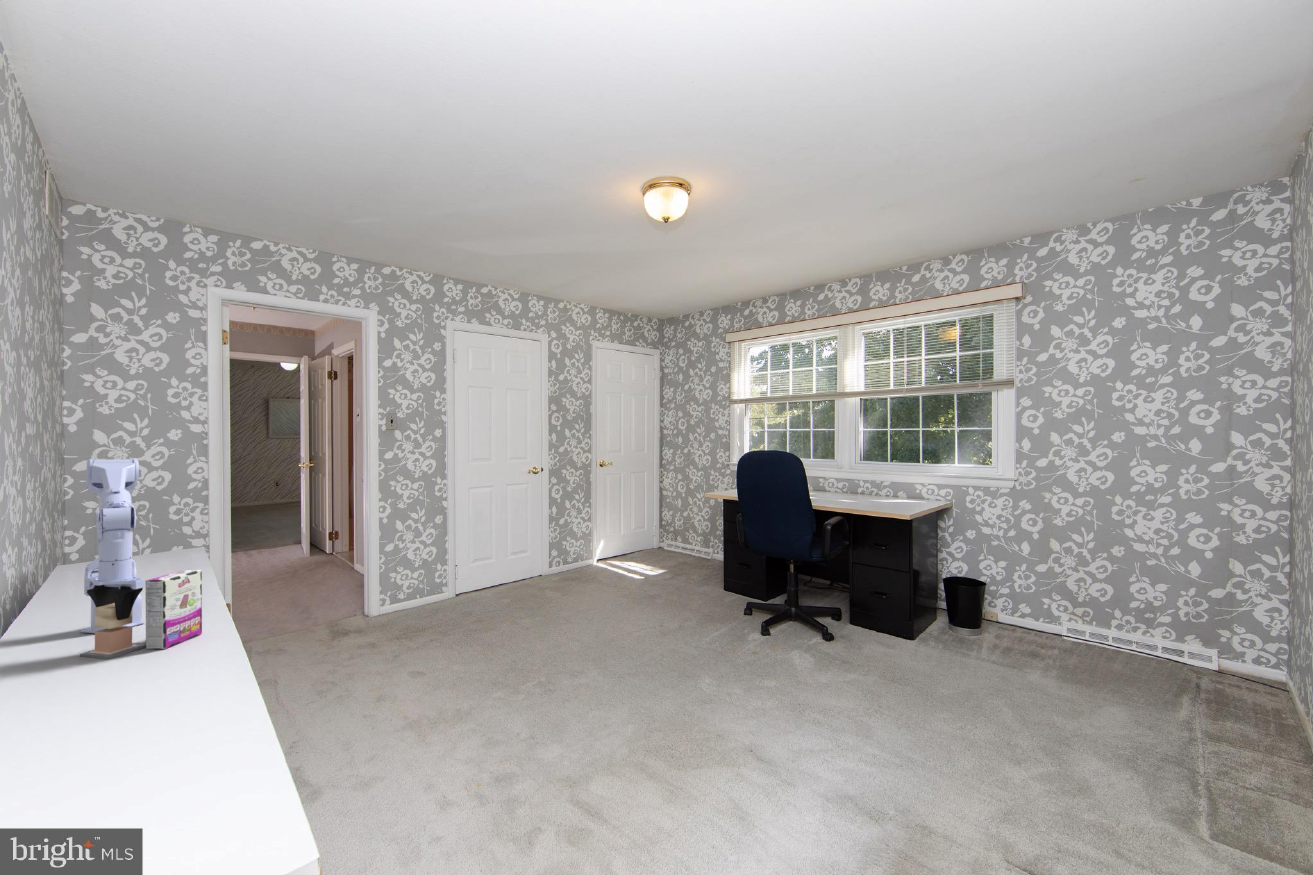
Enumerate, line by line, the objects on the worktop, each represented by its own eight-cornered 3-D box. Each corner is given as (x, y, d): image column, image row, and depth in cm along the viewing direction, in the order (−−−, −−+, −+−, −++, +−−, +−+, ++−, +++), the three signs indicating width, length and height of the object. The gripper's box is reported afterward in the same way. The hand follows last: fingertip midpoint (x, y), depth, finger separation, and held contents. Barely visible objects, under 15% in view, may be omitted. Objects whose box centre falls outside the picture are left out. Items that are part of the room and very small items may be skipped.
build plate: (119, 644, 137) (119, 641, 137) (146, 646, 136) (146, 643, 136) (79, 656, 129) (80, 653, 129) (107, 659, 128) (108, 655, 128)
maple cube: (116, 621, 135) (117, 602, 135) (132, 622, 134) (132, 603, 134) (94, 627, 131) (95, 607, 131) (110, 628, 130) (110, 608, 130)
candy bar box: (183, 634, 145) (184, 569, 145) (202, 634, 145) (203, 569, 145) (143, 649, 134) (144, 579, 134) (164, 650, 134) (165, 579, 134)
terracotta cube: (116, 644, 135) (117, 625, 135) (132, 645, 134) (132, 626, 134) (94, 651, 131) (95, 631, 131) (110, 652, 130) (110, 632, 130)
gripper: (70, 561, 130) (69, 621, 130) (121, 564, 127) (120, 625, 127) (105, 555, 137) (104, 612, 137) (154, 558, 134) (153, 616, 134)
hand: (114, 618), depth 132 cm, fingers closed on maple cube, 4 cm apart
